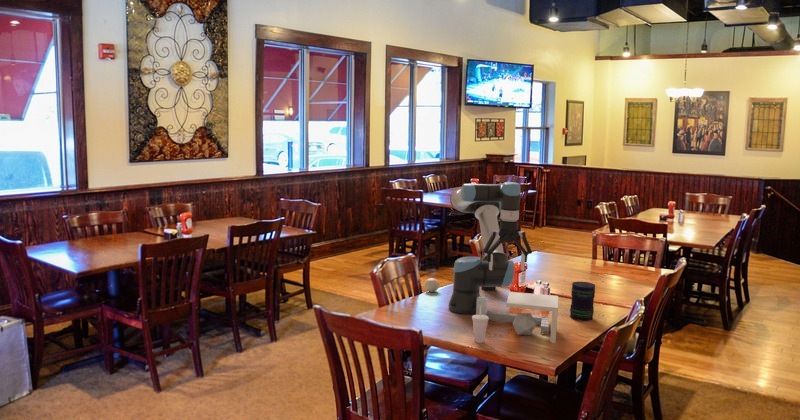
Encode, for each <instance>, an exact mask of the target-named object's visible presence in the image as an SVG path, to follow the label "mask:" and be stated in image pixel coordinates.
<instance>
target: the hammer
mask: <svg viewBox="0 0 800 420" xmlns="http://www.w3.org/2000/svg"><path fill="white" fill-rule="evenodd" d="M488 298H489V297H488V296H484V295H483V296H482V295H480V296H478V297H477V306H476V314H475V315H480V305H481V315H486V316H488V317H489V320H488V321H494V322H495V321H496V322H502V323H513V322H514V320H515V317H516V315H517V313H510V312H500V311H491V310H490V311H488ZM531 315H532V314H531ZM532 317H533V319H534V320H535V322H536V326H540V334H542V333H543V334H545V335H549V327H550V316H543V315H532Z"/></svg>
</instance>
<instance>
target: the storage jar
mask: <svg viewBox="0 0 800 420" xmlns="http://www.w3.org/2000/svg"><path fill="white" fill-rule="evenodd" d="M570 291H571V292H570V293H571V294H570V295H571V304H570V310H569V318H571V319H572V320H574V321H577V322H591V321H593V319H594V311H595V308H594V300H595V297H596V296H595V295H596V284H595V283H592V282H588V281H574V282H573V281H572V283H571V290H570Z"/></svg>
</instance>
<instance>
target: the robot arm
mask: <svg viewBox="0 0 800 420" xmlns="http://www.w3.org/2000/svg"><path fill="white" fill-rule="evenodd" d="M521 192H522V191H521V184H520V183H519V182H513V181H505V182H503V183H497V184H496V183H490V184H489V183H485V184H484V183H463V184H462V186H461V188H458V189H456V190H454V191H453V192H452V193H451V194H450V198H449V200H450V201H449V203H450V205H451V207H453V209H455V210H457V212H458V211H459V212H461V213H465V214H466V213H467V214H468V213H469V214H474V217H475V218H476V219H477V220H478V222H479V227H480V235H481V240H482V246H483V247H482V248H483V249H482V253H483V252H484V253H485V257H484V258H483V260H482V258H481V257H479V256H473V255H469V256H463V257H460V258H457V259H456V260H455V261H454V264H453V283H452V284H453V285H452V286H453V289H452V290H453V291H452V294H451V296H450V300H449V301H448V310H449V311H451V312H453V313H456V314H460V315H462V314H463V315H476V306H477V297H478V296H481V295H480V294H481V293H480V292H481V291H480V288H481V287H496V288H506V287H508V288H509V287H510V286H511V285H512V284H513V281H514V275H515V263H514V261H513V260H509V256H508V255H507V254H506V253H504V247H503V242H504V243H515V244H516V246H518V248H519V250H520V251H521V252H522V253H521V256H520V259H521V260H520V271H522V272H524V271H525V263H528V262H527V261H528V256H529V254H533V253H532V252H533V251H532V249H531V246H530V244H529V241H528V240H527V236H526V235H527V234H526V231H524V230H521V231H519V221H518V220H519V218H520V203H521ZM499 214H500V219H499V221H498V216H499ZM519 236H520V237H521V239H522V241H523V244H524V246H525V248H526V249H525V248H524V246H523V245H522V244H521V243H520V242H519V240H518V237H519Z"/></svg>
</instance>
